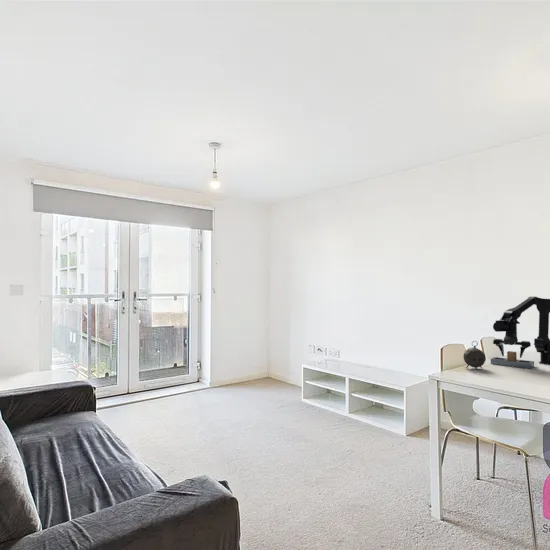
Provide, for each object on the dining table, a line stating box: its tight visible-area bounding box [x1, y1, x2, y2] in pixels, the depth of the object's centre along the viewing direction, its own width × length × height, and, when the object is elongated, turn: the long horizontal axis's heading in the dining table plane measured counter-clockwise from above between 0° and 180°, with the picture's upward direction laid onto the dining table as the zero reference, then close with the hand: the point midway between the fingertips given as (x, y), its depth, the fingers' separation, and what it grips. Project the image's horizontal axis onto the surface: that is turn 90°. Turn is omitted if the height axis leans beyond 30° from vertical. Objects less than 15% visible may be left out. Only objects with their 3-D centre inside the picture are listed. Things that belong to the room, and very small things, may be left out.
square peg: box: [506, 350, 518, 361], centre depth 234 cm, size 4×4×8 cm
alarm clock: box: [463, 340, 487, 370], centre depth 224 cm, size 11×5×16 cm, turn 84°
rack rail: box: [490, 356, 535, 370], centre depth 234 cm, size 21×9×3 cm, turn 46°
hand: (511, 357), depth 234 cm, fingers open, 9 cm apart
